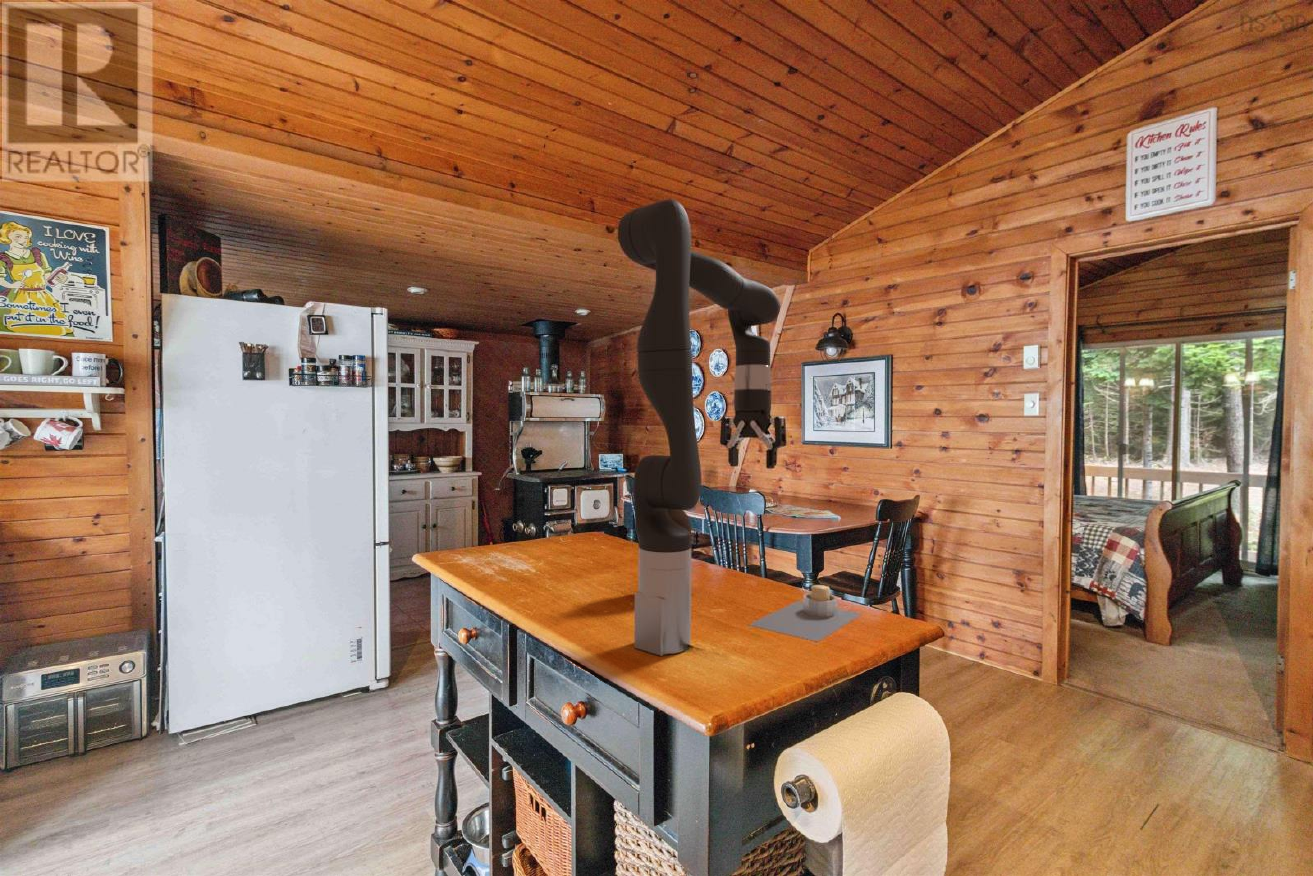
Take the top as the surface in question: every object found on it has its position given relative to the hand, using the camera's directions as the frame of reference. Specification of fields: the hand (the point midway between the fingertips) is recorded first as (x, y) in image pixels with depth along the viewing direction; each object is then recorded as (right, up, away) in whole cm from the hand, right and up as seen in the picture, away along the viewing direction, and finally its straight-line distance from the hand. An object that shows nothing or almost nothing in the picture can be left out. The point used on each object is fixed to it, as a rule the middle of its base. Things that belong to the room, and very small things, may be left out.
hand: (752, 467), depth 124 cm
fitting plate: (+10, -30, -6) cm, 32 cm away
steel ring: (+14, -29, -2) cm, 32 cm away
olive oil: (-17, -30, +14) cm, 37 cm away
